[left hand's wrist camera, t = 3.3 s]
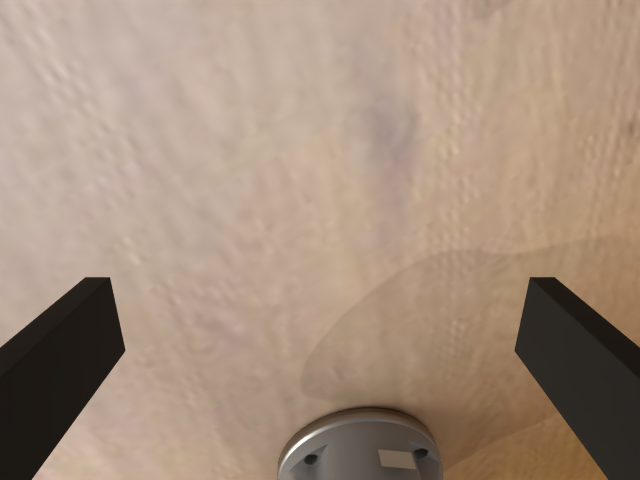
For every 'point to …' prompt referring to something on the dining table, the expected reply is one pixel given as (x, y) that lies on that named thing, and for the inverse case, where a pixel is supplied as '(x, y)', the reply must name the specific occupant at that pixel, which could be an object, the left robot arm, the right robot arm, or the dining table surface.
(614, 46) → the dining table surface
